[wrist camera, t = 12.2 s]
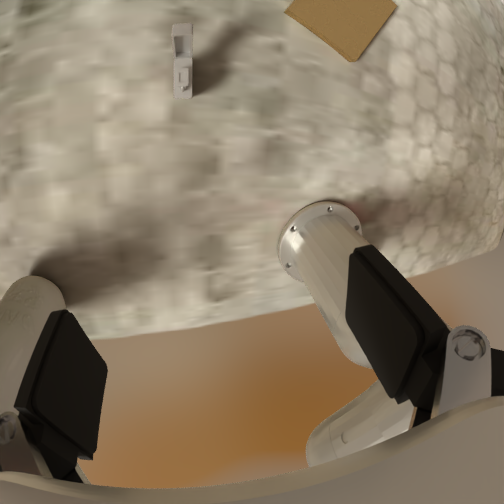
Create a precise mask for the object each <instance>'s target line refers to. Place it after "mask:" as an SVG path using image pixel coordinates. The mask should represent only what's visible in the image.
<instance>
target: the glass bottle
mask: <svg viewBox="0 0 504 504" xmlns="http://www.w3.org/2000/svg"><path fill="white" fill-rule="evenodd" d="M63 309H66V305H65V301H64V298H63V296H62V293H61V291H60V289H59V288H58V287H57V286H56V285H55V284H53V283H52V282H51V281H49V280H47V279H45V278H43V277H40V276H26V277H23V278H21V279H19V280H17V281H16V282H14V283H13V284H12V285H11V286H10V288H9V289H8V290H7V292H6V293H5V295H4V296H3V298H2V300H1V301H0V415H1V414H2V413H4V412H7V411H11V412H14V413H15V414H16V415H17V416H18V415H19V411H17V410H16V409H15V408H14V407H13V406H14V403H15V400H16V397H17V394H18V391H19V388H20V385H21V382H22V379H23V376H24V374H25V371H26V368H27V366H28V363H29V360H30V358H31V355H32V353H33V350H34V348H35V346H36V343H37V341H38V339H39V336H40V334H41V332H42V330H43V327H44V325H45V323H46V321H47V319H48V317H49V315H50V313H51V312H53V311H57V310H63Z"/></svg>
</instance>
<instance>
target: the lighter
mask: <svg viewBox="0 0 504 504" xmlns="http://www.w3.org/2000/svg"><path fill="white" fill-rule="evenodd" d="M172 46H173V56H174V59H175V60H174V98H175V99H189V98H191V97H192V59H191V58H192V51H193V24H192V23H180V24H174V25H173V26H172Z"/></svg>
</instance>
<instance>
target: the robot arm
mask: <svg viewBox="0 0 504 504" xmlns="http://www.w3.org/2000/svg"><path fill="white" fill-rule="evenodd" d="M328 207H329V208H328ZM291 227H292V228H291ZM278 256H279V259H280V262H281V265H282V267H283V268H284V270H285V271H286V272H287V274H288V275H290V276H291V277H292V278H294V279H296V280H298V281H300V282H304V283H305V285H306V286H307V288H308V290H309V292H310V294H311V296H312V297H313V299H314V301H315V303H316V305H317V306H318V308H319V310H320V312H321V314H322V315H323V317H324V319H325V321H326V323H327V325H328V327H329V328H330V330H331V332H332V334H333V336H334V338H335V340H336V341H337V343H338V345H339V347H340V349H341V350H342V352H343V353H344V354H345V355H346V357H348V358H349V359H350V360H351V361H352V362H354V363H356V364H358V365H361V366H363V367H367V368H371V369H373V370H374V371H375V373H376V375H377V377H378V380H377V381H376V382H375V383H374V384H373V385H371V386H370V388H369V389H367V390H366V391H365V392H363V393H362V394H361V395H359V396H358V397H357V398H355V399H354V400H353V401H351V402H350V403H348V404H347V405H345V406H344V407H343V408H341V409H340V410H338V411H337V412H335V413H334V414H333V415H331V416H330V417H328V418H327V419H326V420H324V421H323V422H322V423H321V424H319V425H318V426H317V427H316V428H315V429H314V431H313V432H312V434H311V435H310V437H309V439H308V442H307V445H306V458H307V462H308V464H309V468H306V469H302V470H298V471H294V472H290V473H285V474H281V475H277V476H272V477H267V478H262V479H257V480H251V481H245V482H239V483H232V484H225V485H215V486H205V487H193V488H170V489H144V488H121V487H109V486H99V485H91V483H90V482H89V481H88V479H87V477H86V476H85V474H84V473H83V471H82V470H81V468H80V467H79V465H78V463H77V457H78V458H80V459H84V460H93V453H94V452H95V451H96V449H97V440H98V431H99V423H100V415H101V408H102V402H103V395H104V389H105V383H106V378H107V372H108V370H107V365H106V363H105V361H104V360H103V359H102V357H101V356H100V354H99V353H98V352H97V350H96V349H95V347H94V346H93V345H92V343H91V341H90V340H89V338H88V337H87V335H86V334H85V332H84V331H83V329H82V328H81V326H80V325H79V323H78V321H77V320H76V318H75V317H74V315H73V314H72V313H69V311H68V310H66V309H63V310H57V311H53V312H51V313H50V315H49V317H48V319H47V321H46V323H45V325H44V327H43V330H42V332H41V334H40V336H39V339H38V341H37V343H36V346H35V348H34V350H33V353H32V355H31V358H30V360H29V363H28V366H27V368H26V371H25V374H24V376H23V379H22V382H21V385H20V388H19V391H18V394H17V397H16V400H15V403H14V406H13V407H14V408H15V409H16V410H17V411H19V415H18V416H17V415H16V414H15V413H14V412H11V411H7V412H4V413H2V414H1V415H0V504H504V351H501V350H497V349H493V348H490V343H489V340H488V339H487V337H486V336H485V334H483V332H482V331H480V330H478V329H477V328H474V327H472V326H464V325H463V326H458V327H456V328H454V329H452V328H451V327H450V326H449V325H447V323H445V322H444V321H443V320H442V319H441V318H440V317H439V316H438V314H436V312H435V311H434V310H433V309H432V308H431V306H430V305H429V304H428V303H427V302H426V301H425V300H424V299H423V297H422V296H421V295H420V294H419V293H418V292H417V291H416V290H415V289H414V287H412V285H411V284H410V283H409V282H408V281H407V280H406V279H405V278H404V277H403V276H402V275H401V273H400V272H399V271H398V270H397V269H396V268H395V267H394V266H393V265H392V264H391V263H390V262H389V261H388V260H387V259H386V258H385V257H384V256H383V255H382V254H381V253H380V252H379V251H378V250H377V249H376V248H375V247H374V246H373V245H370V244H369V243H368V242H367V241H366V240H365V239H364V238H363V237H362V227H361V224H360V221H359V219H358V218H357V216H356V215H355V214H354V213H353V212H352V211H351V210H350V209H349V208H347V207H346V206H345V205H342V204H340V203H337V202H331V201H326V202H318V203H314V204H312V205H309V206H307V207H305V208H303V209H302V210H300V211H299V212H297V213H296V214H295V215H294V216H293V217H292V218H291V219H290V220H289V222H288V223H287V224H286V225H285V227H284V229H283V231H282V233H281V236H280V239H279V243H278Z"/></svg>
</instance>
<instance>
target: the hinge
mask: <svg viewBox="0 0 504 504" xmlns="http://www.w3.org/2000/svg"><path fill="white" fill-rule="evenodd" d="M396 7H397V5H396V4H395V3H394V2H393V1H392V0H294V1H293V2H292V3H291V4H290V6H289V7H288V8H287V9H286V10H285V11H284V13H286V14H287V15H289V16H290V17H292V18H293V19H295V20H296V21H297V22H299V23H300V24H302V25H303V26H304V27H306V28H307V29H309V30H310V31H311V32H313V33H314V34H315V35H317V36H318V37H319V38H321V39H322V40H323V41H324V42H326V43H327V44H328V45H330V46H331V47H332V48H333V49H334V50H336V51H337V52H338V53H339V54H341V55H342V56H343V57H344V58H345V59H346V60H348V61H349V62H356V60H357V59H358V58H359V56H360V55H361V54H362V52H363V51H364V49H365V48H366V47H367V45H368V44H369V43H370V41H371V40H372V39H373V37H374V36H375V35H376V33H377V32H378V31H379V29H380V28H381V27H382V25H383V24H384V23H385V21H386V20H387V19H388V17H389V16H390V15H391V13H392V12H393V11H394V9H395V8H396Z"/></svg>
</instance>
